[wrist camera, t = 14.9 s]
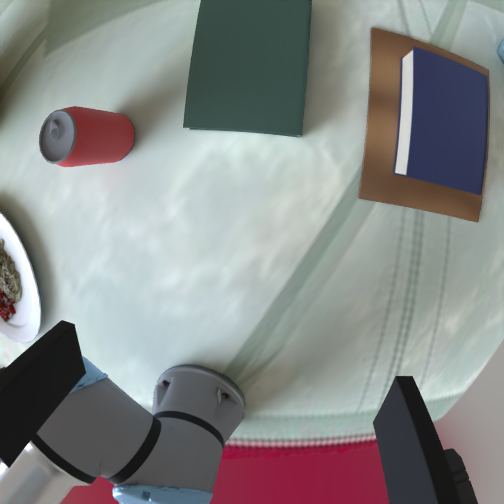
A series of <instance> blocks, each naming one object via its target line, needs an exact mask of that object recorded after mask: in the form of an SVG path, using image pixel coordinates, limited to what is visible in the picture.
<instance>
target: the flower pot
mask: <svg viewBox="0 0 504 504" xmlns="http://www.w3.org/2000/svg"><path fill="white" fill-rule="evenodd" d="M498 54H499V56H500V57H501V59H502V60H503V62H504V40H503V41H502V42H501V43H500V45H499V49H498Z"/></svg>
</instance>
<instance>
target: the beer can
mask: <svg viewBox="0 0 504 504" xmlns="http://www.w3.org/2000/svg"><path fill="white" fill-rule="evenodd" d="M134 135H135V133H134V128H133V125H132V123H131V121H130V120H129V119H128V118H127V117H126V116H125V115H122V114H118V113H113V112H108V111H102V110H96V109H90V108H83V107H77V106H74V107H69V108H64V109H61V110H56V111H54V112H53V113H51V114H50V115H49V116H48V117H47V118H46V120H45V121H44V123H43V125H42V127H41V131H40V135H39V146H40V151H41V153H42V156H43V157H44V159H45V160H46V161H47V162H49V163H52V164H57V165H59V166H62V167H74V166H82V165H91V164H101V163H112V162H117V161H120V160H122V159H123V158H124V157H125V156H126V155H127V154H128V153H129V151H130V150H131V148H132V146H133V143H134Z"/></svg>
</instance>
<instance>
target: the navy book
mask: <svg viewBox="0 0 504 504" xmlns="http://www.w3.org/2000/svg"><path fill="white" fill-rule="evenodd" d="M487 137H488V78H487V76H486V75H484V74H482V73H480V72H478V71H476V70H474V69H471V68H469V67H467V66H465V65H462V64H460V63H458V62H455V61H453V60H450V59H448V58H445V57H443V56H440V55H438V54H435V53H432V52H429V51H426V50H424V49H421V48H418V47H414V46H413V50H412V51H411V52H410V53H409V54H407V55H406V56H405V57H400V101H399V118H398V131H397V142H396V152H395V161H394V169H393V174H395V175H400V176H404V177H409V178H413V179H418V180H422V181H426V182H430V183H434V184H438V185H442V186H446V187H450V188H454V189H457V190H461V191H465V192H469V193H472V194H476V195H480V196H481V194H482V188H483V180H484V172H485V163H486V152H487Z"/></svg>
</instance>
